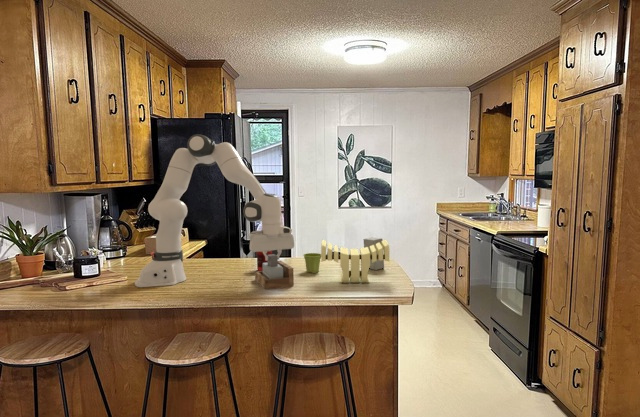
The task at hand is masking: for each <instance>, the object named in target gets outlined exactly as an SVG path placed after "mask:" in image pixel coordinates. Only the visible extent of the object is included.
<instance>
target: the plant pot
mask: <svg viewBox="0 0 640 417" xmlns="http://www.w3.org/2000/svg"><path fill="white" fill-rule="evenodd" d="M303 258H304V261H305V270H306V272H307V273H309V274H310V273H311V274H312V273H313V274H315V273H318V272H319V271H320V264H321V253H318V252H310V253H309V252H307V253H304V254H303Z"/></svg>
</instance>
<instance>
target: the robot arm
mask: <svg viewBox="0 0 640 417" xmlns="http://www.w3.org/2000/svg"><path fill="white" fill-rule="evenodd" d="M186 144H187V145H186V146H187V148H186V147H179V148H177V149H176V150H175V152H174V153H173V155H172V157H171V159H170V161H169V164H168V167H167V170H166V173H165V176H164V178H163V181H162V184H161V186H160V187H159V189H158V190H157V193H156V194H155V196H154V198H153V199H152V200H151V202H150V203H148V208H147V212H148V213H149V215H150V216H151V217H152V218H153V219H155V220H157V221H159V224H158V229H157V232H156V234H155V248H156V249H155V250H156V251H151V253H150V256H151V261H150V262H148V264H146V265H144V266H143V267H142V268H141V271H139V278H138V279H135V281H134V286H135V287H136V288H148V287H150V288H151V287H162V286H163V287H164V286H174V285H176V284H178V283H181V282H184V281H186V280H187V276H186V273H185V269H184V265H183V262H184V252H183V249H182V230H183V226H184V225H183V224H184V220H185V218H186V217H187V216H188V207H187V206H188V205H186V203H184V201H182V200H180V199H181V197H182V196H183V194H184V193H185V192H186V191H187V190H188V187H189V184H190V181H191V178H192V174H193V171H194V168H195V167H196V165H198V166H199V167H200V166H201V167H202V166H214V165H216V164H217V167H218V169H219V170H220V171H221V173H222V175H223V177H225V179H226V180H227V181H228V182H231V183H233V184H235V185H239V186H242V187H244V188H246V189H247V190H248V191H249V192H250V194H251V195H252V197H253V198H254V200H251V201H247V203H245V204H244V206H243V212H242V213H243V216H244V218H245V219H246V220H247V221H248V222H251V223H257V222H261V230H253V231H251V232H250V233H249V235H248V239H249V251H250V252H252V253H257V252H260V251H263V254H264V255H265V260H266V261H269V260H270V259H269V258H270V257H269V256H267V255H266V253H267V251H271V250H272V251H276V252H277V254H275V255H276V256H278V261H280V256H281V254H282V253H283V252H282V250H292V249H294V247H295V239H294V235H293V234H292V232H293V229H292V228H290V227H288V226H285V225H283V224H282V220H281V217H282V203H281V199H280V196H279V195H278V194H275V193H269V192H266V190H265V189H264V187H263V186H262V184H261V183H260V181H259V180H258V179H257V177H256V175H254V174H253V173H252V172H251V171H250V169H249V168H248V167H247V165H246V164H245V163H244V161H243V159H242V158H241V156H240V154H239V152H238V151H237V150H236V148H235V147H234V146H233V145H232V144H231V143H230V142H227V141H226V142H225V141H224V142H220V143H218V144H216V143H215V141H214V140H212V139H211V138H209V137H208V136H206V135H203V134H201V133H200V134H199V133H198V134H197V133H196V134H193V135H191V136H190V137H189V138H188V140H187V143H186Z"/></svg>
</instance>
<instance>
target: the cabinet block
mask: <svg viewBox="0 0 640 417" xmlns="http://www.w3.org/2000/svg"><path fill="white" fill-rule="evenodd" d="M276 255H277V254H275V253H272V254H270V255H267V256H269V257H270V258H269V259H270V260H269V261H268V263H262V264H263V276H264V277H265V278H267V279H276V278H283V267H282V266H280V265H279V264H278V261H279V260H278V256H276Z"/></svg>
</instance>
